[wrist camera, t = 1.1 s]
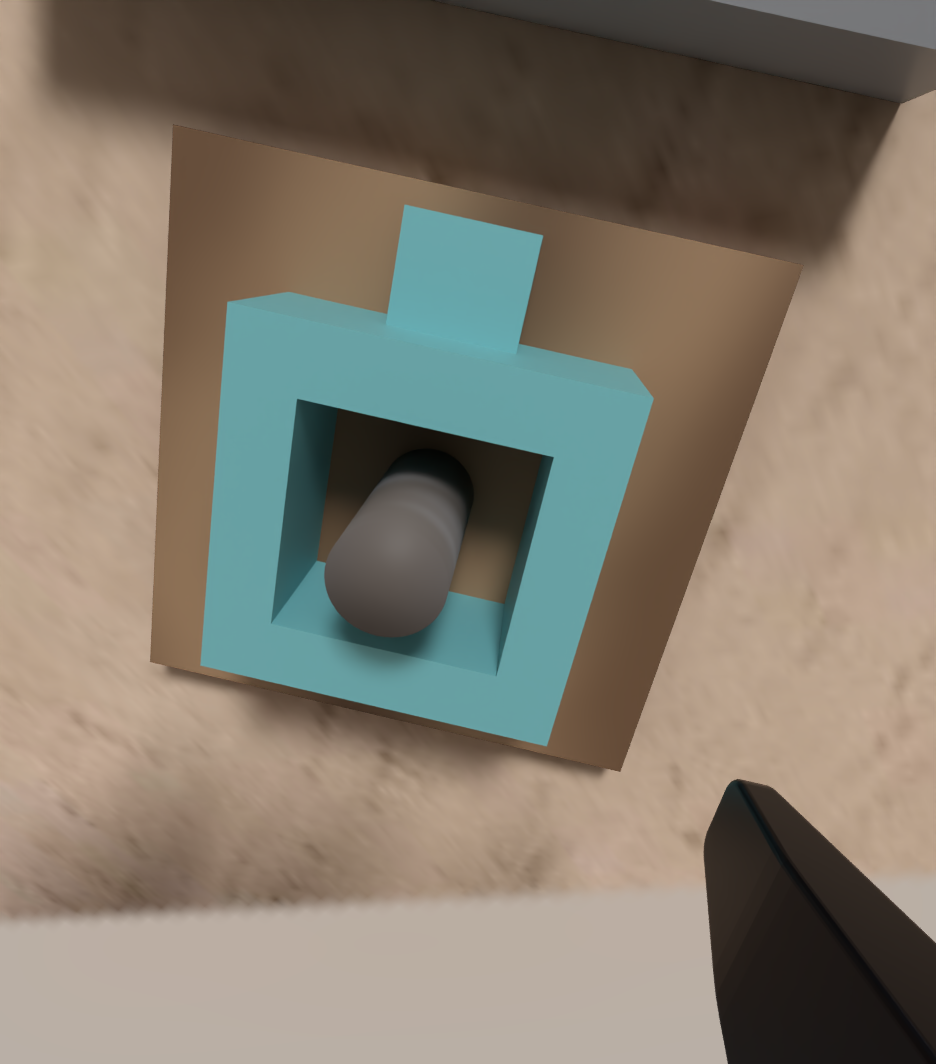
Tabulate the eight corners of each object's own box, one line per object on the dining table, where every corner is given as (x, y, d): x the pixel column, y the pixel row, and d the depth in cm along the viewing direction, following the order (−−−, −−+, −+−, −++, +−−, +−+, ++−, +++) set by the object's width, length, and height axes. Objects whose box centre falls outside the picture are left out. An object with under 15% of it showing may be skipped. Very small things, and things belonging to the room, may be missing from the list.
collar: (662, 263, 13) (694, 267, 11) (545, 664, 17) (546, 746, 14) (300, 183, 14) (237, 165, 11) (256, 597, 17) (200, 665, 14)
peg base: (786, 263, 14) (923, 271, 9) (616, 746, 19) (644, 931, 14) (197, 132, 14) (5, 67, 9) (169, 641, 19) (30, 786, 14)
